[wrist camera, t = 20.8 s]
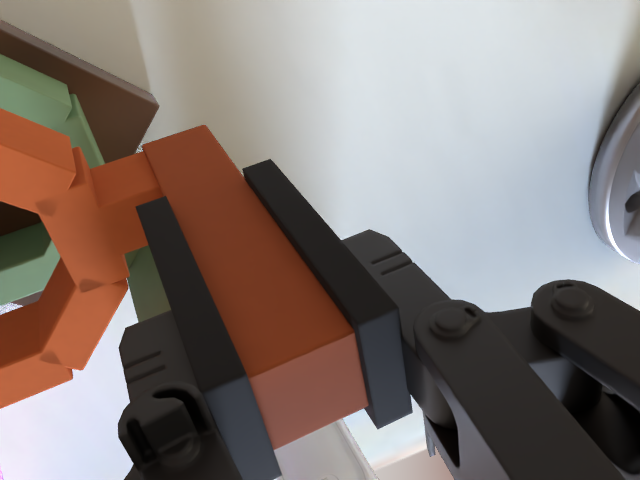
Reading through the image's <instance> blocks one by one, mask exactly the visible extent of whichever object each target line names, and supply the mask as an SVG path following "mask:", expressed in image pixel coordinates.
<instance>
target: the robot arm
mask: <svg viewBox="0 0 640 480" xmlns="http://www.w3.org/2000/svg"><path fill="white" fill-rule="evenodd" d="M242 170H243V173H244V177H245V180H246V182H247V183H248V185H249V186H250V187H251V189H252V190H253V191H254V193H255V194H256V196H257V197H258V198H259V200H260V201H261V202H262V204H263V205H264V207H265V208H266V209H267V211H268V212H269V213H270V215H271V216H272V218H273V219H274V220H275V222H276V223H277V224H278V226H279V227H280V229H281V230H282V231H283V233H284V234H285V236H286V237H287V238H288V240H289V241H290V242H291V244H292V245H293V247H294V248H295V249H296V251H297V252H298V253H299V255H300V256H301V258H302V259H303V260H304V262H305V263H306V264H307V266H308V267H309V269H310V270H311V271H312V273H313V274H314V275H315V277H316V278H317V280H318V281H319V282H320V284H321V285H322V286H323V288H324V289H325V291H326V292H327V293H328V295H329V296H330V297H331V299H332V300H333V302H334V303H335V304H336V306H337V307H338V309H339V310H340V311H341V313H342V314H343V315H344V317H345V318H346V320H347V321H348V322H349V324H350V325H351V326H352V328H353V329H354V332H355V337H356V342H357V347H358V352H359V357H360V363H361V368H362V373H363V378H364V383H365V389H366V394H367V399H368V404H369V405H368V406H367V407H365V408H364V409H365V410H366V412H367V414H368V415H369V417H370V418H371V420H372V421H373V423H374V424H375V426H376V428H377V429H379V428H382V427H384V426H386V425H388V424H390V423H392V422H394V421H396V420H398V419H400V418H402V417H404V416H406V415H408V414H411V413H413V412H412V404H411V396H410V394H411V395H412V397H413V398H414V399H415V401H416V402H417V403H418V405H419V406H420V407H421V409H422V410H423V417H424V425H425V434H426V443H427V448H428V451H429V455H430V457H431V456H433V455H435V446H436V448H437V450H438V452H439V453H440V455H441V457H442V458H443V460H444V462H445V464H446V465H447V467H448V469H449V471H450V472H451V474H452V476H453V477H454V480H640V311H639V310H637V309H635V308H633V307H632V306H630V305H628V304H626V303H625V302H623V301H621V300H619V299H618V298H616V297H614V296H612V295H611V294H609V293H607V292H605V291H604V290H602V289H600V288H598V287H596V286H594V285H591V284H588V283H586V282H583V281H576V280H559V281H553V282H550V283H548V284H545V285H543V286H541V287H540V288H539V289H538V290H537V291H536V292H535V293H534V294H533V298H532V302H531V307H527V308H521V309H515V310H509V311H503V312H491V313H488V312H484V311H483V310H481V309H480V308H479V307H477V306H476V305H474V304H472V303H469V302H466V301H463V300H451V299H450V298H449V297H448V296H447V295H446V294H445V293H444V292H443V291H442V290H441V289H440V288H439V287H438V286H437V285H436V284H435V283H434V282H433V281H432V280H431V279H430V278H429V277H428V276H427V275H426V274H425V273H424V272H423V271H422V270H421V269H420V268H419V267H418V266H417V265H416V264H415V263H413V262H412V260H411V259H410V258H409V257H408V256H407V255H406V254H405V253H404V252H402V250H401V249H400V248H399V247H398V246H397V245H396V244H395V243H394V242H393V241H392V240H391V239H390V238H389V237H387V236H385V235H382V234H380V233H377V232H375V231H372V230H370V229H369V230H367V231H364V232H362V233H359V234H356V235H354V236H351V237H349V238H346V239H344V240H340V239H339V237H338V236H337V235H336V234H335V233H334V232H333V230H332V229H331V228H330V227H329V226H328V225H327V224H326V222H325V221H324V220H323V219H322V218H321V217H320V215H319V214H318V213H317V212H316V211H315V210H314V209H313V207H312V206H311V205H310V204H309V203H308V202H307V200H306V199H305V198H304V197H303V196H302V195H301V193H300V192H299V191H298V190H297V189H296V188H295V187H294V185H293V184H292V183H291V182H290V181H289V180H288V178H287V177H286V176H285V175H284V174H283V173H282V172H281V170H280V169H279V168H278V167H277V166H276V165H275V163H274V162H273V161H272V160H271V159H269V160H266V161H263V162H260V163H257V164H255V165H252V166H249V167H246V168H243V169H242ZM135 207H136V210H137V213H138V216H139V219H140V222H141V225H142V227H143V230H144V233H145V236H146V239H147V242H148V245H149V248H150V250H151V253H152V256H153V259H154V262H155V265H156V268H157V270H158V273H159V276H160V279H161V282H162V285H163V288H164V290H165V293H166V296H167V299H168V302H169V305H170V308H171V310H169V311H167V312H164V313H162V314H159V315H157V316H154V317H152V318H149V319H147V320H144V321H142V322H139V323H137V324H134V325H132V326H129V327H127V328H125V331H124V334H123V337H122V340H121V343H120V346H119V352H120V356H121V361H122V366H123V368H124V375H125V380H126V383H127V389H128V394H129V399H130V403H129V404H128V406H127V407H126V408H125V409H124V411H123V413H122V415H121V418H120V420H119V422H118V437H119V439H120V441H121V443H122V444H123V446H124V448H125V449H126V451H127V453H128V455H129V456H130V458H131V460H132V462H133V463H134V464H133V466H132V468H131V470H130V472H129V473H128V475H127V476H126V477H125V479H124V480H274V479H276V478H278V477H280V476H282V473H281V470H280V467H279V464H278V461H277V458H276V456H275V453H274V450H273V447H272V444H271V441H270V439H269V436H268V433H267V430H266V427H265V424H264V421H263V419H262V416H261V413H260V410H259V407H258V404H257V402H256V399H255V396H254V393H253V390H252V387H251V385H250V382H249V379H248V376H247V373H246V371H245V369H244V367H243V364H242V362H241V360H240V358H239V356H238V353H237V351H236V349H235V347H234V345H233V342H232V340H231V338H230V336H229V334H228V331H227V329H226V327H225V325H224V323H223V320H222V318H221V316H220V314H219V312H218V309H217V307H216V305H215V303H214V300H213V298H212V296H211V294H210V292H209V289H208V287H207V285H206V283H205V281H204V278H203V276H202V274H201V272H200V270H199V267H198V265H197V263H196V261H195V259H194V256H193V254H192V252H191V250H190V248H189V245H188V243H187V241H186V239H185V237H184V234H183V232H182V230H181V228H180V226H179V223H178V221H177V219H176V217H175V215H174V212H173V210H172V208H171V206H170V204H169V201H168V199H167V197H166V196H164V197H161V198H158V199H155V200H152V201H150V202H147V203H144V204H141V205H138V206H135ZM589 211H590V217H591V221H592V224H593V227H594V229H595V232H596V234H597V235H598V237H599V238H600V239H601V240H602V241H603V243H604V244H606V245H607V246H608V247H610V248H611V249H613V250H614V251H616V252H617V253H619V254H620V255H622V256H624V257H625V258H627V259H628V260H630V261H632V262H635V263H638V264H640V82H639V84H638V85H637V86H636V87H635V89H634V90H633V91H632V92H631V94H630V95H629V96H628V98H627V99H626V101H625V102H624V104H623V105H622V107H621V108H620V110H619V111H618V113H617V115H616V116H615V118H614V120H613V121H612V123H611V125H610V127H609V129H608V131H607V133H606V135H605V137H604V140H603V142H602V144H601V147H600V149H599V152H598V155H597V157H596V161H595V164H594V167H593V172H592V176H591V182H590V189H589ZM434 445H435V446H434Z"/></svg>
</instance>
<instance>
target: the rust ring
mask: <svg viewBox="0 0 640 480" xmlns="http://www.w3.org/2000/svg"><path fill="white" fill-rule="evenodd" d="M142 148H143V151H142V152H139V153H136V154H133V155H130V156H127V157H124V158H121V159H118V160H115V161H112V162H109V163H106V164H103V165H100V166H97V167H94V168H91V169H90V168H89V166H88V163H87V161H86V159H85V157H84V154H83V152H82V150H81V148H80V147H75V148H72V147H71V142H70V137H69V136H67V135H64V134H62V133H59V132H57V131H55V130H52V129H50V128H47V127H45V126H43V125H40V124H38V123H35V122H33V121H30V120H28V119H26V118H23V117H21V116H18V115H16V114H14V113H11V112H9V111H6V110H4V109H1V108H0V201H2V202H5V203H8V204H11V205H14V206H17V207H20V208H23V209H26V210H29V211H32V212H35V213H38V214H39V216H40V218H41V220H42V222H43V224H44V226H45V228H46V230H47V232H48V233H49V235H50V237H51V239H52V241H53V243H54V245H55V247H56V249H57V251H58V253H59V254H60V256H61V257H60V259H59V261H58V263H57V265H56V267H55V269H54V271H53V273H52V275H51V277H50V279H49V281H48V283H47V285H46V286H45V288H44V290H43V292H42V294H41V296H40V298H39V300H38V301H36V302H34V303H31V304H28V305H26V306H23V307H20V308H18V309H15V310H12V311H10V312H7V313H4V314H2V315H0V409H1V408H3V407H6V406H8V405H11V404H13V403H16V402H18V401H20V400H23V399H25V398H28V397H30V396H33V395H35V394H38V393H40V392H42V391H45V390H47V389H50V388H52V387H55V386H57V385H60V384H62V383H64V382H67V381H69V380H71V379H73V374H72V369H76V370H83V369H84V367H85V366H86V364H87V362H88V360H89V358H90V357H91V355H92V353H93V351H94V349H95V348H96V346H97V344H98V342H99V340H100V339H101V337H102V335H103V333H104V331H105V330H106V328H107V326H108V324H109V322H110V321H111V319H112V317H113V315H114V313H115V312H116V310H117V308H118V306H119V304H120V303H121V301H122V299H123V297H124V295H125V294H126V292H127V290H128V283H127V280H126V278H128V277H129V276H130V274H129V270H128V266H127V263H126V259H125V256H124V254H126V253H128V252H131V251H134V250H136V249H139V248H142V247H144V246H147V245H148V242H147V239H146V236H145V233H144V230H143V227H142V225H141V222H140V219H139V216H138V213H137V210H136V207H135V206H138V205H141V204H144V203H147V202H150V201H152V200H155V199H158V198H161V197H164V196H166V197H167V199H168V201H169V204H170V206H171V208H172V210H173V212H174V215H175V217H176V219H177V221H178V223H179V226H180V228H181V230H182V232H183V234H184V237H185V239H186V241H187V243H188V245H189V248H190V250H191V252H192V254H193V256H194V259H195V261H196V263H197V265H198V267H199V270H200V272H201V274H202V276H203V278H204V281H205V283H206V285H207V287H208V289H209V292H210V294H211V296H212V298H213V300H214V303H215V305H216V307H217V309H218V312H219V314H220V316H221V318H222V320H223V323H224V325H225V327H226V329H227V331H228V334H229V336H230V338H231V340H232V342H233V345H234V347H235V349H236V351H237V353H238V356H239V358H240V360H241V362H242V364H243V367H244V369H245V371H246V373H247V376H248V379H249V382H250V385H251V387H252V390H253V393H254V396H255V399H256V402H257V404H258V407H259V410H260V413H261V416H262V419H263V421H264V424H265V427H266V430H267V433H268V436H269V439H270V441H271V444H272V447H273V450H276V449H278V448H280V447H282V446H284V445H287V444H289V443H291V442H293V441H295V440H297V439H299V438H301V437H304V436H306V435H308V434H310V433H312V432H314V431H316V430H318V429H321V428H323V427H325V426H327V425H329V424H331V423H333V422H335V421H337V420H340V419H342V418H344V417H346V416H348V415H350V414H352V413H354V412H357V411H359V410H361V409H363V408H365V407H367V406H368V405H369V404H368V399H367V394H366V389H365V383H364V378H363V373H362V368H361V363H360V357H359V352H358V347H357V342H356V337H355V332H354V329H353V328H352V326H351V325H350V324H349V322H348V321H347V320H346V318H345V317H344V315H343V314H342V313H341V311H340V310H339V309H338V307H337V306H336V304H335V303H334V302H333V300H332V299H331V297H330V296H329V295H328V293H327V292H326V291H325V289H324V288H323V286H322V285H321V284H320V282H319V281H318V280H317V278H316V277H315V275H314V274H313V273H312V271H311V270H310V269H309V267H308V266H307V264H306V263H305V262H304V260H303V259H302V258H301V256H300V255H299V253H298V252H297V251H296V249H295V248H294V247H293V245H292V244H291V242H290V241H289V240H288V238H287V237H286V236H285V234H284V233H283V231H282V230H281V229H280V227H279V226H278V224H277V223H276V222H275V220H274V219H273V218H272V216H271V215H270V213H269V212H268V211H267V209H266V208H265V207H264V205H263V204H262V202H261V201H260V200H259V198H258V197H257V196H256V194H255V193H254V191H253V190H252V189H251V187H250V186H249V185H248V183H247V182H246V180H245V178H244V177H243V175H242V174H241V173H240V171H239V170H238V169H237V167H236V166H235V164H234V163H233V162H232V160H231V159H230V158H229V156H228V155H227V153H226V152H225V151H224V149H223V148H222V147H221V145H220V144H219V143H218V141H217V140H216V138H215V137H214V136H213V134H212V133H211V132H210V130H209V129H208V127H207V126H206V125H201V126H198V127H195V128H192V129H189V130H186V131H183V132H180V133H177V134H174V135H171V136H168V137H165V138H162V139H159V140H156V141H152V142H149V143H146V144H143V145H142Z"/></svg>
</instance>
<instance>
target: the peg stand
mask: <svg viewBox="0 0 640 480" xmlns="http://www.w3.org/2000/svg"><path fill="white" fill-rule="evenodd" d="M0 54H2V55H4V56H6V57H8V58H10V59H12V60H15V61H17V62H19V63H21V64H23V65H25V66H28V67H30V68H32V69H34V70H36V71H38V72H41V73H43V74H45V75H47V76H49V77H51V78H54V79H56V80H58V81H60V82H62V83H64V84H66V85H67V87H68V92H69V95H70V94H75V95H76V96H77V98H78V101H79V103H80V106H81V108H82V110H83V113H84V115H85V117H86V120H87V122H88V124H89V127H90V129H91V131H92V134H93V136H94V139H95V141H96V143H97V146H98V148H99V150H100V153H101V155H102V157H103V160H104V162H105V164H106V163H109V162H112V161H115V160H118V159H121V158H124V157H127V156H130V155H133V154H135V152H136V150H137V148H138V146H139V144H140V142H141V141H142V139H143V137H144V135H145V133H146V131H147V129H148V127H149V125H150V123H151V122H152V120H153V118H154V116H155V114H156V112H157V110H158V108H159V105H158V103H157V101H156V100H155V98H154V96H153V95H152V94H150V93H148V92H146V91H144V90H142V89H140V88H138V87H136V86H134V85H132V84H130V83H128V82H126V81H124V80H122V79H120V78H118V77H116V76H114V75H112V74H110V73H108V72H106V71H104V70H102V69H99V68H97V67H95V66H93V65H91V64H89V63H87V62H85V61H83V60H81V59H79V58H77V57H75V56H73V55H71V54H69V53H67V52H65V51H63V50H61V49H59V48H57V47H55V46H53V45H51V44H49V43H47V42H45V41H43V40H40V39H38V38H36V37H34V36H32V35H30V34H28V33H26V32H24V31H22V30H20V29H18V28H16V27H14V26H12V25H10V24H8V23H6V22H4V21H2V20H0ZM41 222H42V220H41V218H40V216H39V214H38V213H35V212H32V211H29V210H26V209H23V208H20V207H17V206H14V205H11V204H8V203H5V202H2V201H0V236H3V235H6V234H9V233H12V232H15V231H18V230H20V229H23V228H26V227H29V226H32V225H35V224H38V223H41ZM42 292H43V290H42V291H39V292H37V293H34V294H31V295H29V296H26V297H23V298H20V299H18V300H15V301H12V302H10V303H14V304H18V305H22V306H26V305H28V304H31V303H34V302H36V301H38V300H39V298H40V296H41V294H42Z"/></svg>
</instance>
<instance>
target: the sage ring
mask: <svg viewBox="0 0 640 480" xmlns="http://www.w3.org/2000/svg"><path fill="white" fill-rule="evenodd" d="M0 108H1V109H4V110H6V111H9V112H11V113H14V114H16V115H18V116H21V117H23V118H26V119H28V120H30V121H33V122H35V123H38V124H40V125H43V126H45V127H47V128H50V129H52V130H55V131H57V132H59V133H62V134H64V135H67V136H69V137H70V142H71V147H72V148H75V147H80V148H81V150H82V152H83V154H84V157H85V159H86V161H87V163H88V166H89V168H90V169H91V168H94V167H97V166H100V165H103V164H105V162H104V160H103V157H102V155H101V153H100V150H99V148H98V146H97V143H96V141H95V139H94V136H93V134H92V131H91V129H90V127H89V124H88V122H87V120H86V117H85V115H84V113H83V110H82V108H81V106H80V103H79V101H78V98H77V96H76V95H75V94H70V95H69V92H68V87H67V85H66V84H64V83H62V82H60V81H58V80H56V79H54V78H51V77H49V76H47V75H45V74H43V73H41V72H38V71H36V70H34V69H32V68H30V67H28V66H25V65H23V64H21V63H19V62H17V61H15V60H12V59H10V58H8V57H6V56H4V55H2V54H0ZM124 256H125V259H126V263H127V266H128V270H129V274H130V276H129V277H128V278H127V280H128V284H129V288H130V292H131V295H132V299H133V303H134V307H135V311H136V314H137V318H138V322H142V321H144V320H147V319H149V318H152V317H154V316H157V315H159V314H162V313H164V312H167V311H169V310H171V308H170V305H169V302H168V299H167V296H166V293H165V290H164V288H163V285H162V282H161V279H160V276H159V273H158V270H157V268H156V265H155V262H154V259H153V256H152V253H151V250H150V248H149V245H147V246H144V247H142V248H139V249H136V250H134V251H131V252H128V253H126V254H124ZM60 257H61V256H60V254H59V253H58V251H57V249H56V247H55V245H54V243H53V241H52V239H51V237H50V235H49V233H48V232H47V230H46V228H45V226H44V224H43V222H41V223H38V224H35V225H32V226H29V227H26V228H23V229H20V230H18V231H15V232H12V233H9V234H6V235H3V236H0V306H2V305H4V304H7V303H10V302H12V301H15V300H18V299H20V298H23V297H26V296H29V295H31V294H34V293H37V292H39V291H42V290H44V288H45V286H46V285H47V283H48V281H49V279H50V277H51V275H52V273H53V271H54V269H55V267H56V265H57V263H58V261H59V259H60Z"/></svg>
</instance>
